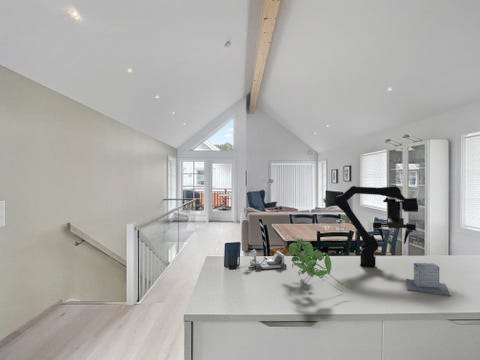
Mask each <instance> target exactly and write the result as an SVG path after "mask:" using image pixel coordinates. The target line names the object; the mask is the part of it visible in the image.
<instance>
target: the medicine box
mask: <svg viewBox="0 0 480 360" xmlns="http://www.w3.org/2000/svg"><path fill="white" fill-rule="evenodd" d="M413 280H414V284H415V285H416V286H418V287H431V288H439V283H440V266H439V265H438V264H435V263H433V262H432V263H429V262H427V263H426V262H413Z"/></svg>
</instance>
